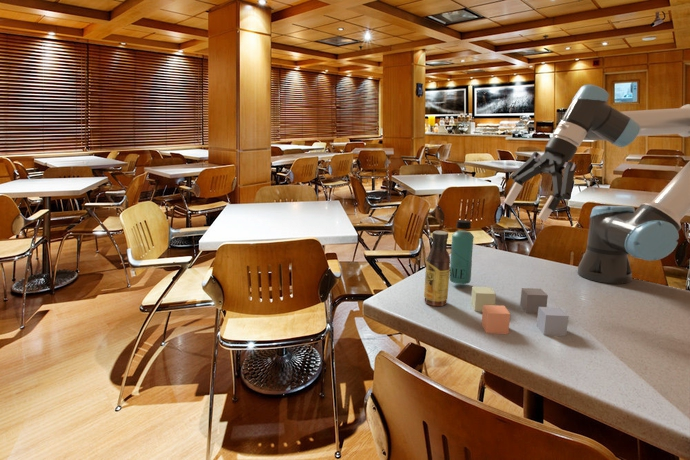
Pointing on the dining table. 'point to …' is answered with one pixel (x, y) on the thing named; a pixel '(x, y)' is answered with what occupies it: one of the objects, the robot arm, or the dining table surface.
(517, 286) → the dining table surface
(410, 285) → the dining table surface
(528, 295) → the cube charcoal
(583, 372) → the dining table surface
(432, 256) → the sauce bottle
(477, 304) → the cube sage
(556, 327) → the cube slate
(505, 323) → the cube terracotta
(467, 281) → the beverage bottle
